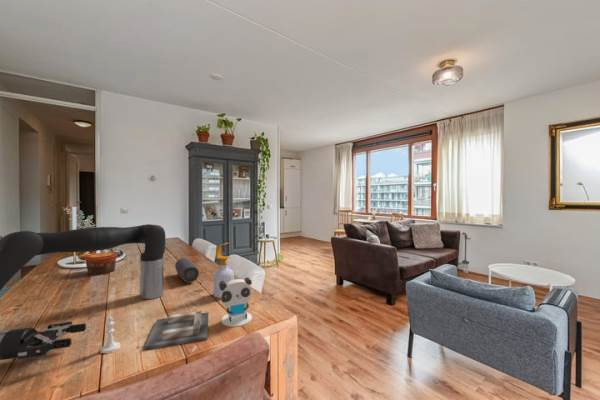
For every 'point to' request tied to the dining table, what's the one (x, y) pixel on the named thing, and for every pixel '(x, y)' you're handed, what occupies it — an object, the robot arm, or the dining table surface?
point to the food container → (100, 263)
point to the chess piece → (110, 339)
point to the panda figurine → (236, 301)
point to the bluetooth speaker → (186, 270)
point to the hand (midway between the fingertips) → (78, 334)
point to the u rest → (178, 330)
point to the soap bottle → (221, 272)
